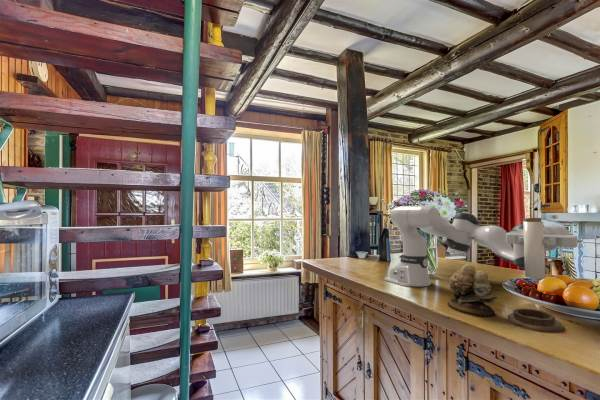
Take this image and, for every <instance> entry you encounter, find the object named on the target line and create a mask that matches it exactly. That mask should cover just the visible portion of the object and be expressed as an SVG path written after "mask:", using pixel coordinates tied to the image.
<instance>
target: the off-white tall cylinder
mask: <svg viewBox="0 0 600 400" xmlns="http://www.w3.org/2000/svg"><path fill="white" fill-rule="evenodd" d="M522 224H523V234H524V260H525V269H524V276H525V277H526V278H528V279H529V278H530V279H538V280H543V279H546V263H545V260H546V256H545V251H544V245H543V239H544V230H543V225H544V221H542V217H524V220H523V221H522Z"/></svg>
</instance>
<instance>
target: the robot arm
mask: <svg viewBox="0 0 600 400" xmlns="http://www.w3.org/2000/svg"><path fill="white" fill-rule="evenodd" d="M389 215H390V216H389V217H390V221H391V223H392V224H393V225H394V226H395V227H396V228H397V230H398V231H399V234H400V236H401V241H402V254H401V255H399V256H398V259H400V260H399V262H397V263H396V264H395V265H394V266H392V267H391V268H390V271H389V275H388V276H387V277H384V280H385V281H386V282H390V283H394V284H397V285H400V286H404V287H428V286H430V285H432V282H431V280H430V275H429V269H428V264H429V257H428V255H427V239H426V238H425V237H424V236H423V235H421V234H420V233H419V231H418V229H420V231H422V232H424V233H426V234H429V235H432V236H436V237H441V238H445V239H446V240H445V239H444V242H445V243H446V246H448V248H449V249H450V250H452V251H453V252H456V253H459V254H463V253H468V252H469V251H470V249H471V245H472V242H474V243H475V244H477V245H479V246H481V247H483V248H488V249H489V250H491V251H492V252H493V253H494V255H495V256H496V257H498V258H500V259H502V260H504V261H507V262H508V263H510V264H513V265H515V266H516V267H518V268H520V269H522V270H525V260H524V234H523V223H522V224H517V225H515V226H514V227H512V229H510V232H507V230H505V229H504V228H503V227H501V226H498V225H481V226H480V224H481V223H480V221H478V218H477V217H476V216H475V215H474V214H472V213H471V212H467V211H459V212H456V214H455V215H454V217H453V221H452V224H451V222H450V221H449V220H448V219H446V218H445V217H443V216H441V215H440V212H439V210H438V209H437V208H436V207H435V206H431V205H400V206H396V207H393V209H392V210H391V212H390V214H389ZM543 230H544V239H543V245H544V252H545V251H546V252H547V251H548V252H550V251H554V250H557V249H560V248H569V249H570V248H571V249H574V248H578V246H579V243H583V239H581V238H580V239H578V236H577V235H570V234H571V233H570V232H569V231H568V229H566V228H565V227H563V226H560V225H554V224H553V225H552V224H551V225H544V224H543ZM546 263H547V261H546V259H545V264H546Z"/></svg>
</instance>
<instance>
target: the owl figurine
mask: <svg viewBox="0 0 600 400" xmlns="http://www.w3.org/2000/svg"><path fill="white" fill-rule="evenodd" d="M461 267H462V268H460V269H457V270H456V271H455V272H454V273H453V275H452V276H450V277H449V288H450V291H451V293H452V294H453V296H454V298H450V300H448V301H447V306H448V307H449V309H452V310H453V311H456V312H459V313H462V314H465V315H469V316H475V317H486V318H487V317H490V316H495V315H496V311H495V310H494V309H493V308H492V307H491V306H490V305H488V304H486V303H492V302H494V300H495V299H498V296H497V295H495V294H491V293H492V292H493V290H492V289H493V288H492V285H491V284H490V281H489V274H488V273H487V272H485V271H483V270H477V271H476V267H475V266H474V265H473V264H471V263H466V264H464V265H463V266H461Z"/></svg>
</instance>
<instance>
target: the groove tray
mask: <svg viewBox="0 0 600 400" xmlns="http://www.w3.org/2000/svg"><path fill="white" fill-rule="evenodd" d="M507 321H508V322H509V323H510V324H513V325H514V326H517V327H520V328H523V329H526V330H531V331H535V332H543V333H544V332H545V333H556V332H561V331H562V330H563V324H562V322H560V321H558V320H557V319H556V316H554V315H553V314H552V313H549V312H547V311H544V310H538V309H533V308H524V307H523V308H515V309H514V310H512V313H508V314H507Z"/></svg>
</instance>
